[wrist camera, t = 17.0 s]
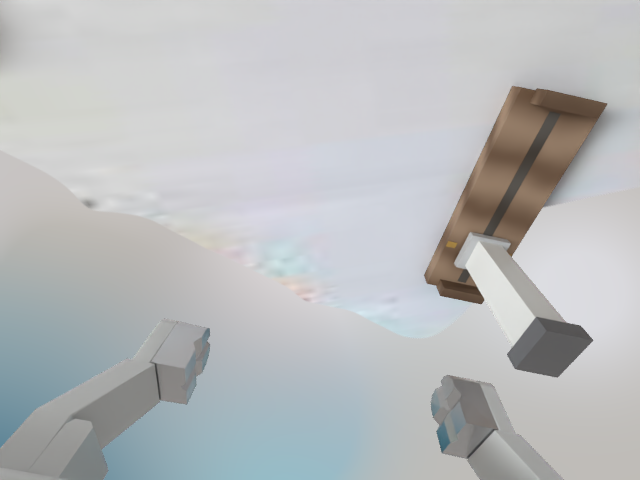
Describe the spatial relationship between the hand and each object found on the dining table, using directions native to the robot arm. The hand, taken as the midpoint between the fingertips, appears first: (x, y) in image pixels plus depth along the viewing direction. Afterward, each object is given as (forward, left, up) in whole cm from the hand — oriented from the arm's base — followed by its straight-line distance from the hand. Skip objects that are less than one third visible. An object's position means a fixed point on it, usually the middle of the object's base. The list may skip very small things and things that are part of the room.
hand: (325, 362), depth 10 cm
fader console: (+3, +21, -31) cm, 38 cm away
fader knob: (+9, +21, -29) cm, 37 cm away
